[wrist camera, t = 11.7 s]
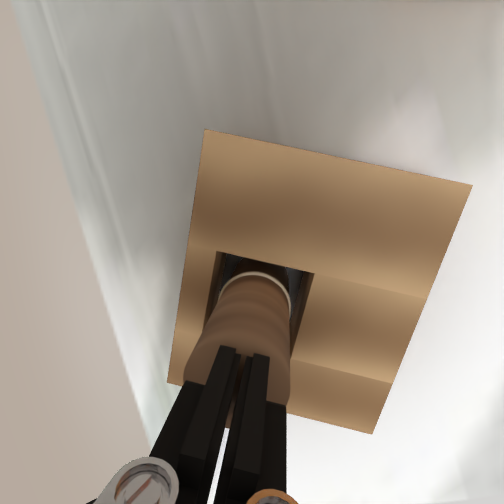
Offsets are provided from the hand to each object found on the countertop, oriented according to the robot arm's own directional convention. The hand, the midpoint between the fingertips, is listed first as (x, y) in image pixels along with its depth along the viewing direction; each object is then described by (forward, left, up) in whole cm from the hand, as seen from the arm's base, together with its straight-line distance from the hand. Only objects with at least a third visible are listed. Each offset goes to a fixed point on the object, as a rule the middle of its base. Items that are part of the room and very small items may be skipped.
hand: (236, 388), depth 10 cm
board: (-1, +2, -10) cm, 10 cm away
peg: (0, 0, -10) cm, 10 cm away
